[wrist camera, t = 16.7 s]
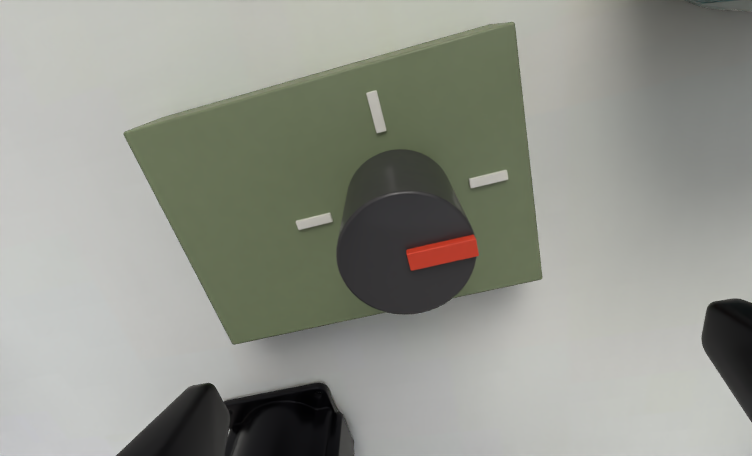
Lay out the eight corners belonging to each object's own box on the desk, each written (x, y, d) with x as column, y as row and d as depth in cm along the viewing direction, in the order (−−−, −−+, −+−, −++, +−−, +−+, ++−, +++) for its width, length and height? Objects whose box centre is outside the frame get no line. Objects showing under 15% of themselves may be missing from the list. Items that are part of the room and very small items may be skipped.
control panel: (250, 306, 22) (231, 348, 19) (161, 117, 17) (118, 133, 15) (520, 246, 20) (544, 282, 17) (492, 23, 16) (516, 21, 13)
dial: (362, 256, 17) (357, 333, 12) (333, 163, 15) (315, 215, 11) (460, 234, 16) (489, 306, 12) (440, 136, 15) (467, 178, 10)
